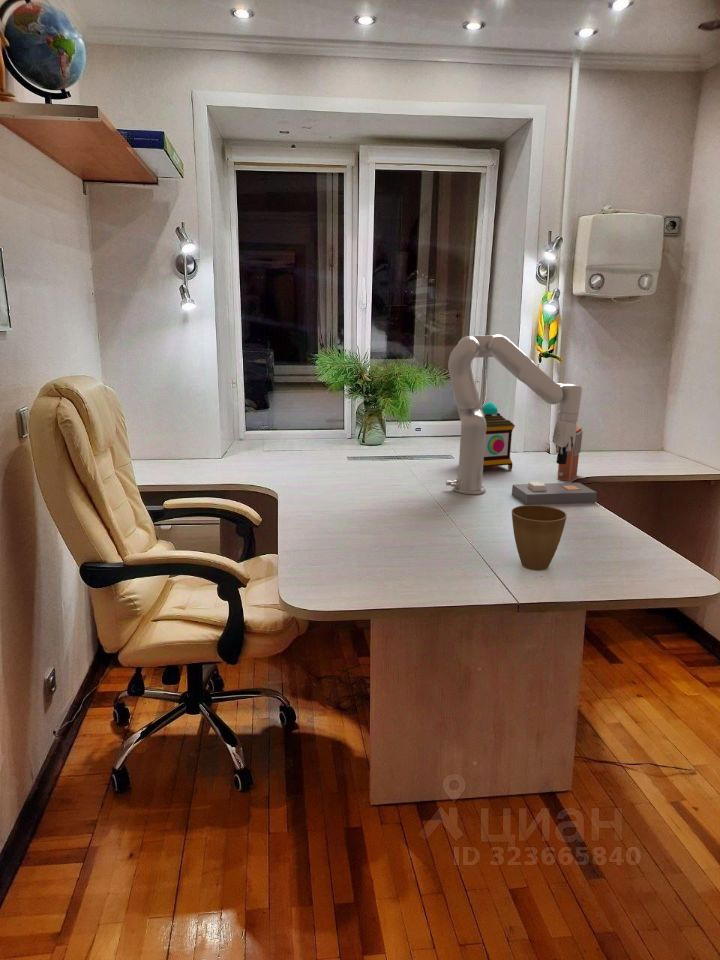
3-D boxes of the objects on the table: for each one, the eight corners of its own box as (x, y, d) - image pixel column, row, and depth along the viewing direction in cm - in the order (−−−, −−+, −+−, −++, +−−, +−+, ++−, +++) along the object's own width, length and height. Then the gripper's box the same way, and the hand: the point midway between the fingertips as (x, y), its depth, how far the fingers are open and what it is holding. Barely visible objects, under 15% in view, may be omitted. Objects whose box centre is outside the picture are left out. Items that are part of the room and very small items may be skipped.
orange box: (554, 479, 281) (563, 472, 293) (571, 482, 277) (579, 474, 290) (559, 430, 275) (568, 425, 288) (576, 432, 272) (584, 426, 284)
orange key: (567, 496, 251) (568, 489, 250) (561, 493, 256) (562, 485, 255) (579, 496, 252) (580, 489, 251) (573, 492, 257) (573, 485, 256)
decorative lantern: (516, 471, 294) (522, 404, 286) (478, 474, 287) (483, 406, 279) (492, 461, 312) (496, 398, 304) (455, 464, 305) (459, 399, 297)
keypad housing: (526, 504, 244) (527, 494, 243) (511, 494, 257) (512, 484, 256) (595, 502, 249) (597, 492, 248) (577, 492, 262) (579, 482, 261)
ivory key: (533, 493, 248) (534, 485, 248) (527, 489, 253) (528, 482, 252) (545, 493, 249) (546, 485, 248) (540, 489, 254) (540, 481, 253)
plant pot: (551, 555, 195) (556, 504, 191) (568, 576, 180) (574, 521, 176) (501, 555, 194) (505, 504, 190) (514, 575, 180) (519, 520, 176)
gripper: (550, 413, 256) (543, 458, 261) (567, 420, 242) (560, 468, 247) (568, 413, 257) (561, 459, 262) (586, 420, 243) (579, 468, 248)
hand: (561, 463), depth 254 cm, fingers closed
